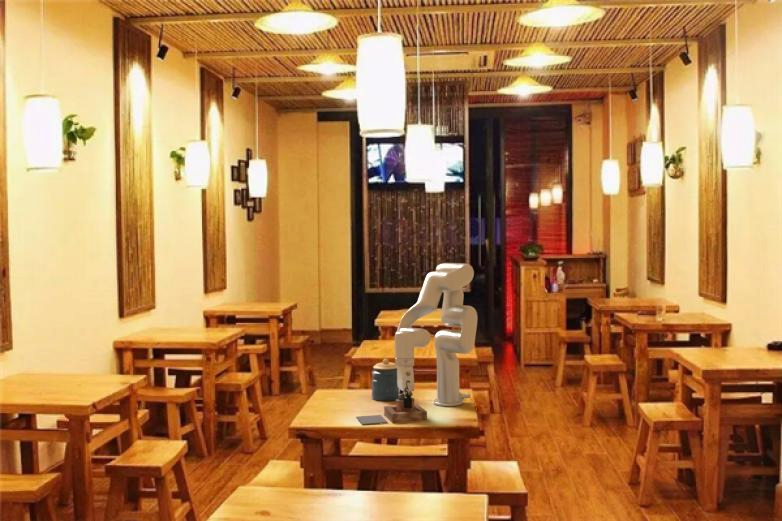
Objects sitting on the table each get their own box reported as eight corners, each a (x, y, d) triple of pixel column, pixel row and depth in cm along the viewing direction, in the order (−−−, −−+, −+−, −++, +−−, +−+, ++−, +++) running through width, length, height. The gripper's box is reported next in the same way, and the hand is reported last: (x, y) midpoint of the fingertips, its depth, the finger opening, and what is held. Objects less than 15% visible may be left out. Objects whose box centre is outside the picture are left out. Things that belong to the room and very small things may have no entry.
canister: (375, 402, 360) (374, 361, 359) (368, 396, 373) (368, 357, 372) (404, 400, 363) (403, 360, 362) (397, 394, 376) (396, 355, 375)
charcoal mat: (380, 416, 335) (380, 414, 335) (387, 423, 323) (387, 421, 323) (356, 418, 332) (356, 416, 332) (362, 425, 321) (362, 423, 321)
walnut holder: (417, 412, 340) (417, 404, 340) (427, 420, 327) (427, 411, 327) (384, 414, 337) (384, 406, 337) (392, 423, 323) (392, 414, 323)
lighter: (398, 419, 329) (398, 394, 328) (394, 418, 332) (394, 393, 331) (416, 417, 332) (415, 392, 332) (412, 415, 335) (411, 391, 335)
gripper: (419, 364, 323) (420, 410, 324) (408, 357, 340) (408, 400, 341) (400, 366, 321) (401, 411, 322) (390, 358, 338) (390, 401, 339)
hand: (405, 405), depth 332 cm, fingers open, 7 cm apart
